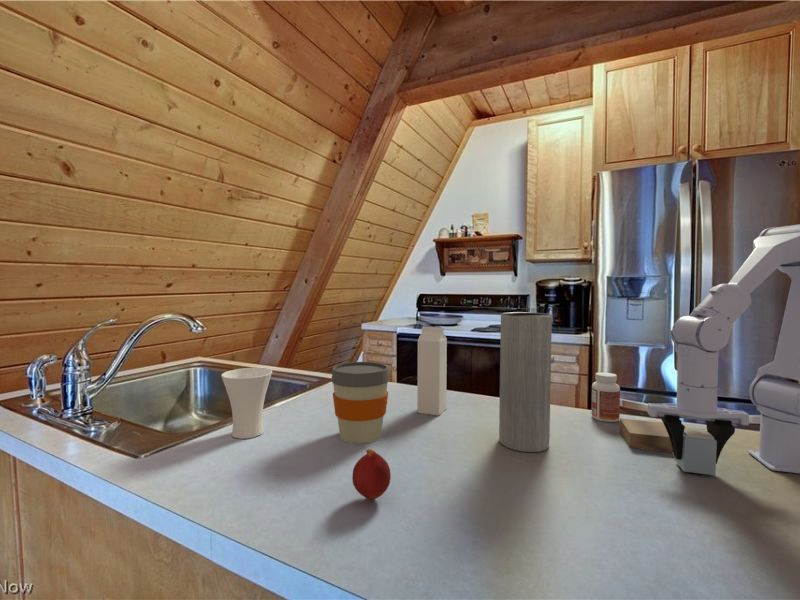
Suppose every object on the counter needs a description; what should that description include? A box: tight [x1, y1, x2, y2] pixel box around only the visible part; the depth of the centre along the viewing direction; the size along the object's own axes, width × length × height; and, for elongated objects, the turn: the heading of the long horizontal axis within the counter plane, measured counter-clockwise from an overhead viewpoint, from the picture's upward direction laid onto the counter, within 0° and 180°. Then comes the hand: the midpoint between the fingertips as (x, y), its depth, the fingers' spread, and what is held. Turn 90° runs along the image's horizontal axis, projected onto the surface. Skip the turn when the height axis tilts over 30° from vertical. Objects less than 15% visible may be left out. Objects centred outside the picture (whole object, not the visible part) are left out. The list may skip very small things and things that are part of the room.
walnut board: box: [619, 417, 673, 453], centre depth 82 cm, size 9×9×3 cm
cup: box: [220, 367, 273, 440], centre depth 86 cm, size 10×10×14 cm
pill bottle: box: [591, 371, 621, 423], centre depth 96 cm, size 6×6×11 cm
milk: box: [416, 326, 448, 417], centre depth 102 cm, size 6×6×22 cm
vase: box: [498, 311, 553, 453], centre depth 81 cm, size 10×10×27 cm
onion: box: [351, 448, 392, 502], centre depth 60 cm, size 6×6×8 cm
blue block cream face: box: [674, 426, 717, 476], centre depth 70 cm, size 5×5×6 cm
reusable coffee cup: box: [331, 361, 390, 444], centre depth 85 cm, size 13×12×15 cm
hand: (694, 459), depth 70 cm, fingers closed on blue block cream face, 5 cm apart
